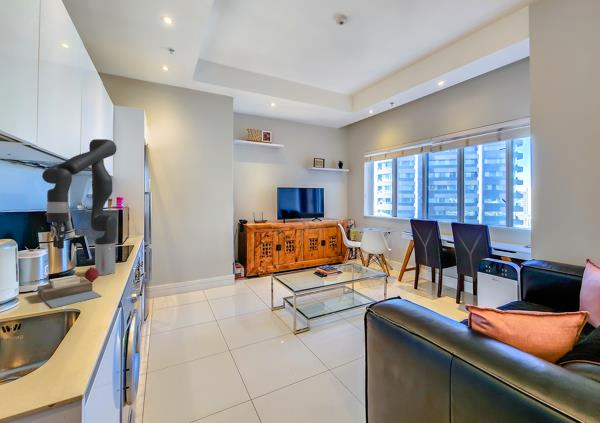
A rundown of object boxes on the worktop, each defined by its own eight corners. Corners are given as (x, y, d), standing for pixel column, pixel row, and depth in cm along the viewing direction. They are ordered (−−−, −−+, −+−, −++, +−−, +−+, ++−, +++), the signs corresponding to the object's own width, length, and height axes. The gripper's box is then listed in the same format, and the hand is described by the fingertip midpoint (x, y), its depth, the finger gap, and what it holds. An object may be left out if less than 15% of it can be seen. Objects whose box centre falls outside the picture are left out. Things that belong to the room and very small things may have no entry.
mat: (45, 302, 108) (45, 301, 108) (92, 291, 121) (92, 290, 121) (52, 308, 102) (52, 307, 102) (101, 296, 116) (101, 295, 115)
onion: (101, 280, 138) (101, 265, 137) (92, 283, 132) (92, 267, 132) (91, 279, 138) (91, 264, 138) (81, 283, 133) (81, 267, 132)
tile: (49, 285, 117) (49, 279, 117) (75, 280, 124) (75, 275, 124) (53, 288, 113) (53, 282, 113) (79, 283, 121) (79, 277, 121)
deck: (37, 295, 115) (37, 286, 115) (83, 286, 128) (83, 277, 128) (45, 302, 108) (44, 292, 108) (92, 291, 121) (92, 282, 121)
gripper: (73, 212, 121) (73, 248, 122) (63, 210, 130) (64, 244, 130) (51, 212, 115) (52, 250, 116) (42, 211, 123) (43, 246, 124)
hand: (58, 247), depth 123 cm, fingers open, 5 cm apart
